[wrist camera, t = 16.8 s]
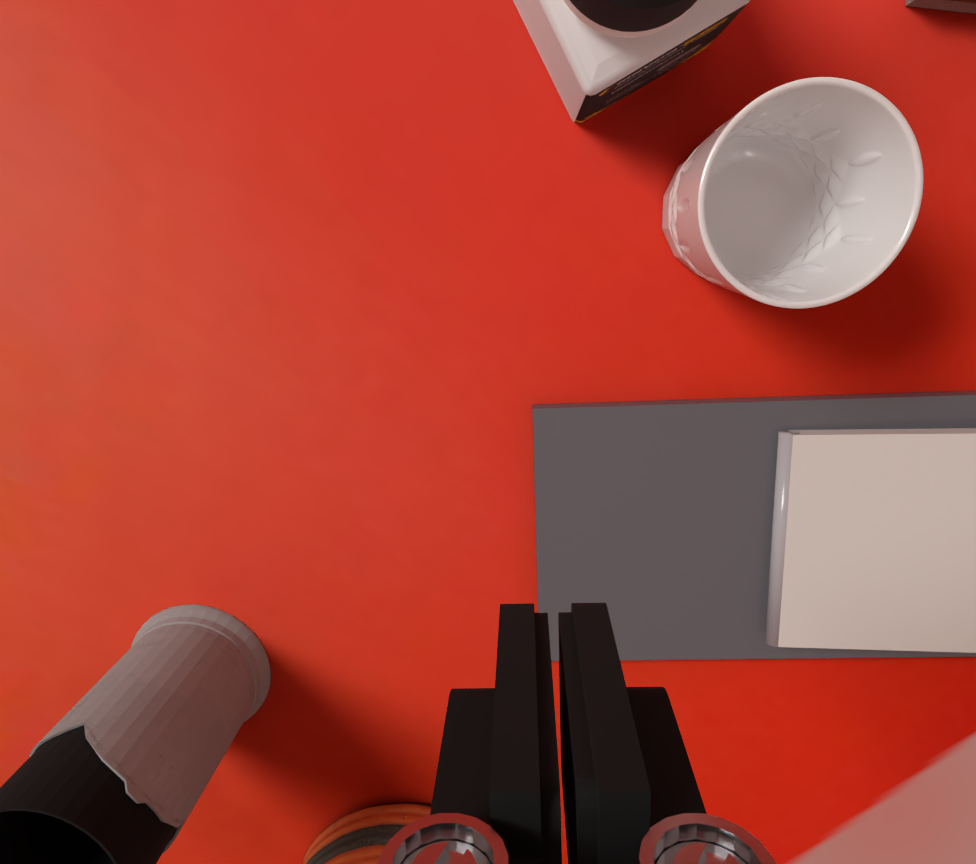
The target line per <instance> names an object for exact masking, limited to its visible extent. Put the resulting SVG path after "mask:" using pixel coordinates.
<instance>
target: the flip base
mask: <svg viewBox="0 0 976 864" xmlns="http://www.w3.org/2000/svg"><path fill="white" fill-rule="evenodd" d="M532 408H533V444H534V481H535V517H536V554H537V590H538V613H548V623H549V638H550V652H551V661H559V626H558V613H559V612H571V603H606V604H607V608H608V612H609V617H610V621H611V625H612V629H613V633H614V638H615V642H616V646H617V650H618V655H619V659H620V660H700V659H795V658H890V657H976V653H964V652H930V651H896V650H862V649H828V648H793V647H773V646H770V645H768V644H767V643H766V642H765V633H766V617H767V602H768V586H769V571H770V556H771V540H772V525H773V510H774V494H775V479H776V463H777V448H778V433H779V431H781V430H840V429H944V428H976V391H947V392H915V393H883V394H852V395H820V396H788V397H757V398H725V399H693V400H661V401H630V402H598V403H566V404H535V405H532Z"/></svg>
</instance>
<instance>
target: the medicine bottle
mask: <svg viewBox="0 0 976 864" xmlns="http://www.w3.org/2000/svg"><path fill="white" fill-rule="evenodd" d="M513 1H514V3H515V6H516V8H517V10H518V12H519V14H520V16H521V18H522V20H523V22H524V24H525V26H526V28H527V30H528V32H529V34H530V36H531V38H532V40H533V42H534V44H535V46H536V48H537V50H538V52H539V54H540V56H541V58H542V60H543V63H544V65H545V67H546V69H547V71H548V73H549V75H550V77H551V79H552V81H553V83H554V85H555V87H556V89H557V91H558V93H559V95H560V97H561V99H562V101H563V103H564V105H565V107H566V109H567V111H568V113H569V115H570V117H571V119H572V121H573V122H574V123H577V124H579V123H582V122H584V121H586V120H587V119H589V118H591V117H592V116H594V115H596V114H597V113H599V112H601V111H602V110H604V109H606V108H607V107H609V106H611V105H612V104H614V103H616V102H617V101H619V100H621V99H622V98H624V97H626V96H627V95H629V94H631V93H633V92H634V91H636V90H638V89H639V88H641V87H643V86H644V85H646V84H648V83H649V82H651V81H653V80H654V79H656V78H658V77H659V76H661V75H663V74H664V73H666V72H668V71H669V70H671V69H673V68H674V67H676V66H678V65H680V64H681V63H683V62H685V61H686V60H688V59H690V58H691V57H693V56H695V55H696V54H698V53H700V52H701V51H703V50H705V49H706V48H707V47H708V46H709V45H710V44H711V42H712V41H713V40H714V39H715V38H716V37H717V36H718V35H719V34H720V33H721V32H722V31H723V29H724V28H725V27H726V26H727V25H728V24H729V23H730V22H731V21H732V20H733V19H734V18H735V17H736V15H737V14H738V13H739V12H740V11H741V10H742V9H743V8H744V7H745V6H746V5H747V4H748V2H749V1H750V0H513Z"/></svg>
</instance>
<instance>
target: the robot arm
mask: <svg viewBox="0 0 976 864" xmlns="http://www.w3.org/2000/svg"><path fill="white" fill-rule="evenodd" d="M558 626H559V677H560V729H561V769H562V786H563V799H564V812H565V826H566V839H567V853H568V864H776V862H775V860H774V859H773V857H772V856H771V855H770V853H769V852H768V851H767V849H766V848H765V847H764V846H763V844H762V843H761V842H760V841H759V840H758V839H757V838H755V837H754V836H753V835H751V834H750V833H749V832H748V831H746V830H745V829H744V828H742V827H740V826H738V825H736V824H734V823H732V822H730V821H728V820H726V819H723V818H720V817H716V816H711V815H707V814H706V811H705V808H704V805H703V801H702V798H701V795H700V792H699V789H698V786H697V783H696V780H695V777H694V774H693V771H692V768H691V765H690V762H689V758H688V755H687V752H686V749H685V746H684V743H683V740H682V737H681V734H680V731H679V728H678V725H677V722H676V718H675V715H674V712H673V709H672V706H671V703H670V700H669V697H668V694H667V692H666V690H665V688H663V687H626V684H625V680H624V676H623V672H622V667H621V663H620V659H619V655H618V650H617V646H616V642H615V638H614V633H613V629H612V625H611V621H610V617H609V612H608V608H607V604H606V603H571V612H559V613H558ZM377 864H562V852H561V806H560V783H559V766H558V752H557V738H556V724H555V709H554V695H553V681H552V666H551V652H550V638H549V623H548V613H534V604H500V617H499V633H498V649H497V666H496V682H495V688H480V689H451V691H450V695H449V701H448V707H447V713H446V719H445V726H444V732H443V738H442V744H441V750H440V756H439V762H438V769H437V775H436V781H435V787H434V793H433V799H432V806H431V812H430V816H426V817H422V818H419V819H417V820H416V821H414V822H412V823H410V824H408V825H406V826H404V827H403V828H402V829H401V830H400V831H399V832H397V833H396V834H395V835H394V836H393V837H392V838H391V839H390V840H389V842H388V843H387V845H386V846H385V848H384V850H383V851H382V853H381V855H380V857H379V859H378V862H377Z"/></svg>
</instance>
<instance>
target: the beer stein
mask: <svg viewBox="0 0 976 864" xmlns="http://www.w3.org/2000/svg"><path fill="white" fill-rule="evenodd" d="M430 812H431V806H430V805H425V804H415V803H401V804H389V805H380V806H375V807H369V808H365V809H362V810H359V811H356V812H354V813H351V814H348V815H346V816H345V817H342V818H340V819H339V820H337V821H336V822H334V823H333V824H331V825H330V826H329V827H328V828H326V829H325V830H324V831H323V832H322V833H321V834H320V835H319V836H318V837H317V838H316V839H315V841H314V842H313V843H312V845H311V846H310V847H309V849H308V851H307V853H306V855H305V857H304V860H303V863H302V864H377V862H378V859H379V857H380V855H381V853H382V851H383V850H384V848H385V846H386V845H387V843H388V842H389V840H390V839H391V838H392V837H393V836H394V835H395V834H396V833H397V832H399V831H400V830H401V829H402V828H403V827H404V826H406V825H408V824H410V823H412V822H414V821H416V820H417V819H419V818H422V817H426V816H430Z"/></svg>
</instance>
